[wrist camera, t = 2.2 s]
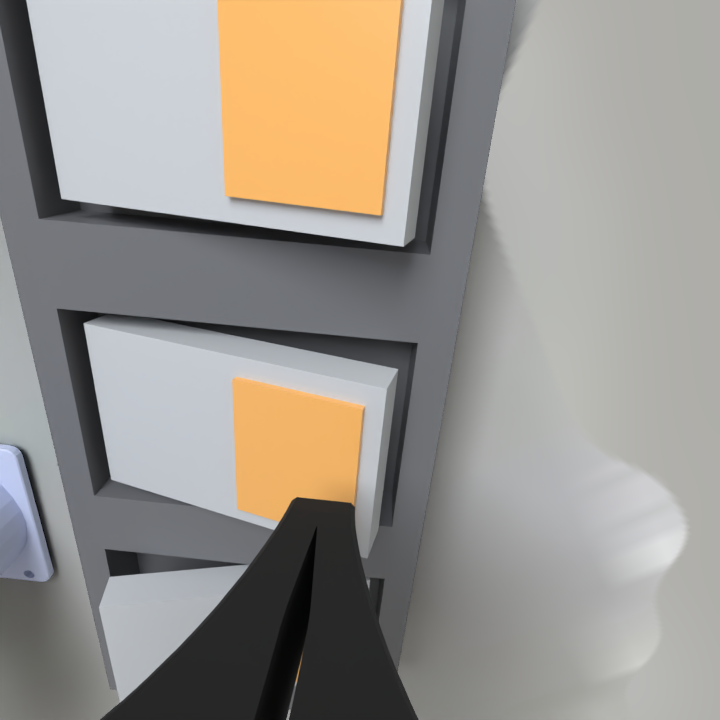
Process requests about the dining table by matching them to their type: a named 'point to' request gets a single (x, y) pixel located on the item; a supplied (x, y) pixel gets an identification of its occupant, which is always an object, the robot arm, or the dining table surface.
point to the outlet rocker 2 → (158, 616)
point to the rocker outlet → (243, 108)
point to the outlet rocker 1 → (240, 420)
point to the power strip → (247, 311)
